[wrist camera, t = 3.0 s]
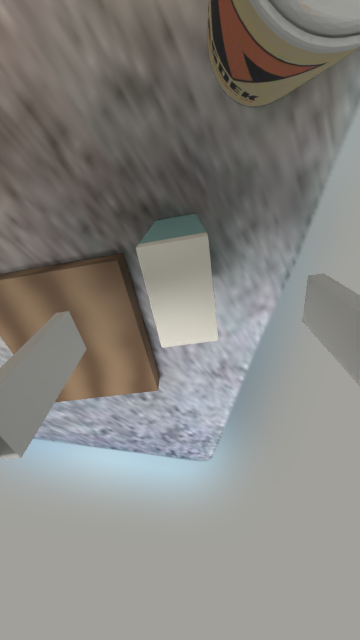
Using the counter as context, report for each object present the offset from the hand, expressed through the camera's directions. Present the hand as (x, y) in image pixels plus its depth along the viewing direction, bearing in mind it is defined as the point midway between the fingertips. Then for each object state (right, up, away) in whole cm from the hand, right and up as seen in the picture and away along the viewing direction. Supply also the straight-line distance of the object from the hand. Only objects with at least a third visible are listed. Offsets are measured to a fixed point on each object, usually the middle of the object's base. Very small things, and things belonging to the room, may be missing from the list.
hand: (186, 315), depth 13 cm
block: (0, +7, +11) cm, 13 cm away
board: (-13, -2, +16) cm, 20 cm away
